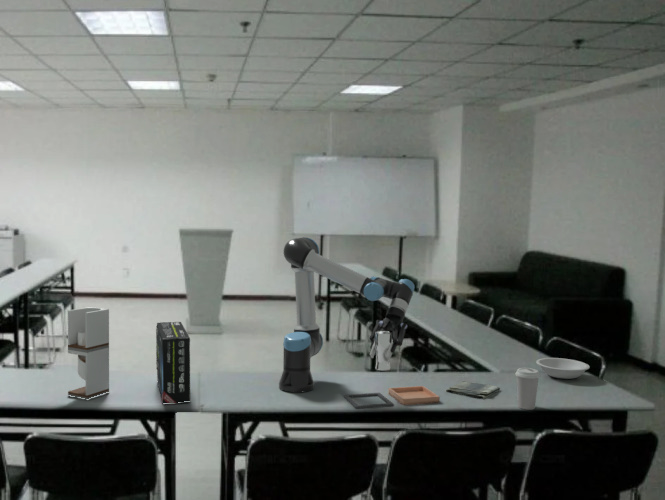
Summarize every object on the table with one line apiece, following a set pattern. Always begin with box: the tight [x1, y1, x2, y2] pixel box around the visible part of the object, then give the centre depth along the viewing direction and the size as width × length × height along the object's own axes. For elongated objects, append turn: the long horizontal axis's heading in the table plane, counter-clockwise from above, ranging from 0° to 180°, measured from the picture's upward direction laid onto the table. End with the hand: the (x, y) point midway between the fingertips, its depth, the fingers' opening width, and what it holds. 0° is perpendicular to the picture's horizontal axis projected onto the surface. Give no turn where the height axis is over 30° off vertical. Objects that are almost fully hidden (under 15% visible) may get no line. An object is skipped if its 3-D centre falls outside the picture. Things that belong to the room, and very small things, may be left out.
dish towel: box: [445, 380, 501, 400], centre depth 274 cm, size 19×18×3 cm
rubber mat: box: [342, 392, 395, 410], centre depth 256 cm, size 16×16×1 cm
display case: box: [67, 306, 110, 399], centre depth 256 cm, size 11×11×35 cm
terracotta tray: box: [387, 385, 440, 406], centre depth 262 cm, size 16×16×2 cm
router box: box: [155, 321, 191, 404], centre depth 263 cm, size 36×11×27 cm, turn 20°
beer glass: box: [375, 330, 393, 372], centre depth 256 cm, size 7×7×15 cm
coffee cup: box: [514, 367, 541, 411], centre depth 253 cm, size 10×10×15 cm
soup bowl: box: [535, 357, 591, 380], centre depth 301 cm, size 24×24×7 cm
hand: (379, 357), depth 253 cm, fingers closed on beer glass, 6 cm apart
